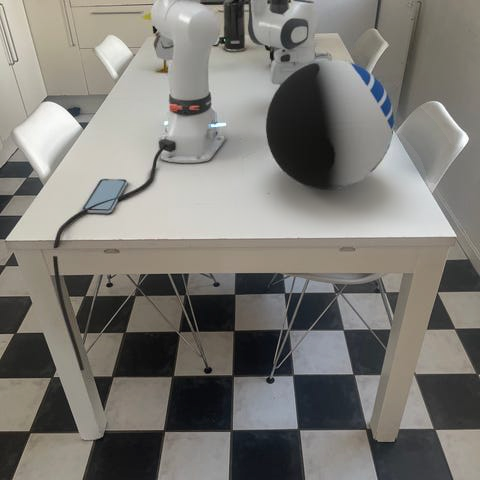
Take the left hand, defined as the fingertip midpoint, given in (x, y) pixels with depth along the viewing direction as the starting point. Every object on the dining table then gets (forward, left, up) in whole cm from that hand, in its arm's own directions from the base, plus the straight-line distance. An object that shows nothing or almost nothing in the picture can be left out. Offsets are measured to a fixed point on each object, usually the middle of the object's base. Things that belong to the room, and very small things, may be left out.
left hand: (299, 95), depth 175 cm
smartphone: (-66, +47, -3) cm, 81 cm away
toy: (+37, +52, -3) cm, 64 cm away
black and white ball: (-55, -7, -3) cm, 55 cm away
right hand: (+41, +9, 0) cm, 41 cm away
